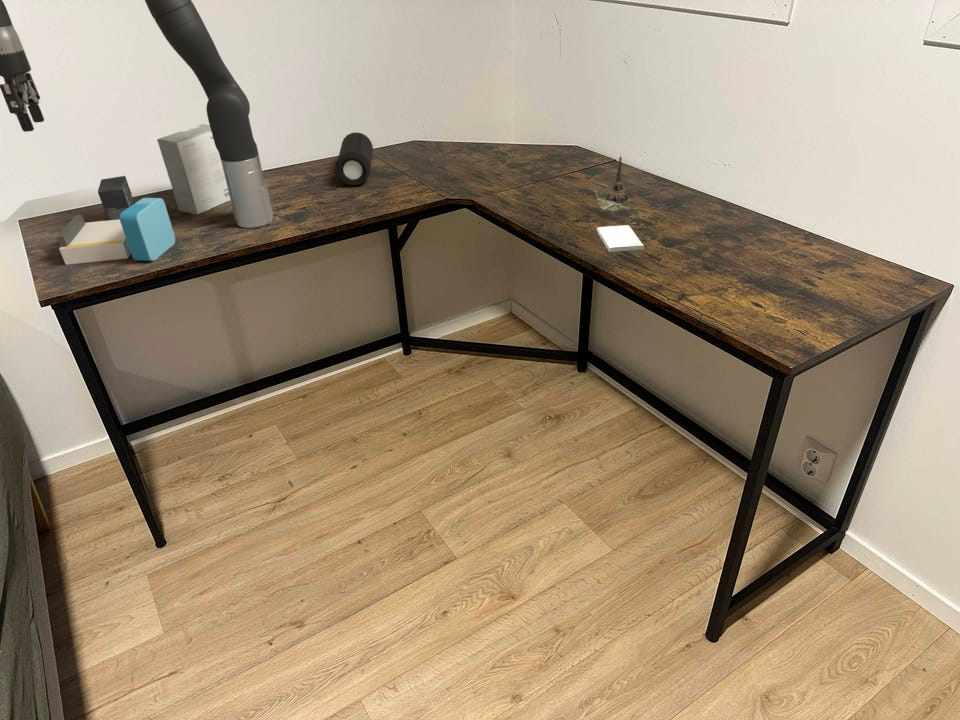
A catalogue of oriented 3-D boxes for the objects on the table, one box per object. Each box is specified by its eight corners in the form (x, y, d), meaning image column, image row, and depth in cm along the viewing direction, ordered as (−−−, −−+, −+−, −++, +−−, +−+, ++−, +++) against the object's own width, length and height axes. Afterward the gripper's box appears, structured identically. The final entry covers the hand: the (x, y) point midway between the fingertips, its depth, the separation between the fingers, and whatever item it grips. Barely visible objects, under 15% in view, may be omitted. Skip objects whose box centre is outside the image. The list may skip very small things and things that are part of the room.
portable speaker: (344, 162, 217) (339, 131, 211) (375, 160, 218) (371, 129, 212) (338, 189, 196) (332, 155, 190) (371, 187, 197) (367, 153, 191)
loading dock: (143, 232, 173) (135, 208, 169) (128, 258, 160) (119, 232, 156) (85, 237, 171) (76, 213, 167) (65, 264, 158) (55, 239, 154)
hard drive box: (221, 193, 196) (203, 123, 185) (239, 197, 193) (222, 126, 182) (177, 211, 185) (155, 138, 174) (196, 215, 182) (175, 141, 170)
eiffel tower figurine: (592, 192, 188) (595, 144, 181) (628, 191, 188) (633, 143, 180) (600, 212, 176) (603, 162, 168) (638, 211, 175) (644, 161, 168)
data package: (160, 242, 168) (145, 195, 161) (177, 242, 167) (163, 196, 160) (134, 263, 158) (117, 214, 151) (152, 263, 157) (135, 215, 150)
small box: (113, 216, 183) (99, 178, 178) (138, 212, 185) (126, 174, 179) (110, 229, 175) (95, 191, 169) (136, 225, 177) (123, 187, 171)
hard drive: (644, 245, 155) (629, 224, 165) (609, 247, 154) (596, 226, 164) (643, 252, 155) (628, 230, 166) (608, 254, 155) (596, 232, 165)
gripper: (12, 53, 140) (43, 132, 149) (31, 43, 152) (59, 117, 161) (-28, 57, 139) (6, 136, 148) (-5, 46, 150) (25, 120, 159)
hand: (34, 126), depth 154 cm, fingers open, 8 cm apart
